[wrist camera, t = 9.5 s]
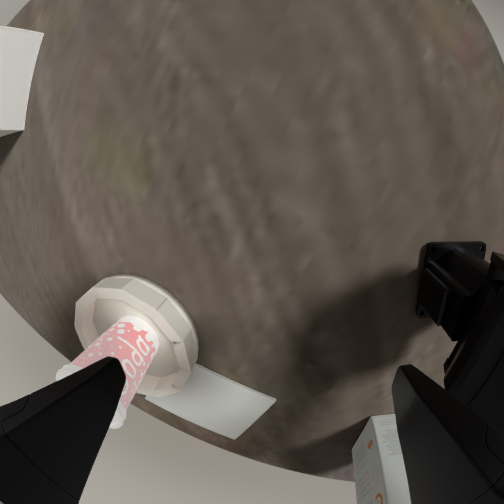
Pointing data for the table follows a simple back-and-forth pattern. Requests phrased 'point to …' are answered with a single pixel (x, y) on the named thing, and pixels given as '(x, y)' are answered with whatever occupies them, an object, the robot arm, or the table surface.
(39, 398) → the robot arm
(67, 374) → the beverage cup
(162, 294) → the bowl
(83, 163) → the table surface
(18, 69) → the milk
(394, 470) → the small box
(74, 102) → the table surface
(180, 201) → the table surface
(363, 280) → the table surface
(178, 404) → the mat
